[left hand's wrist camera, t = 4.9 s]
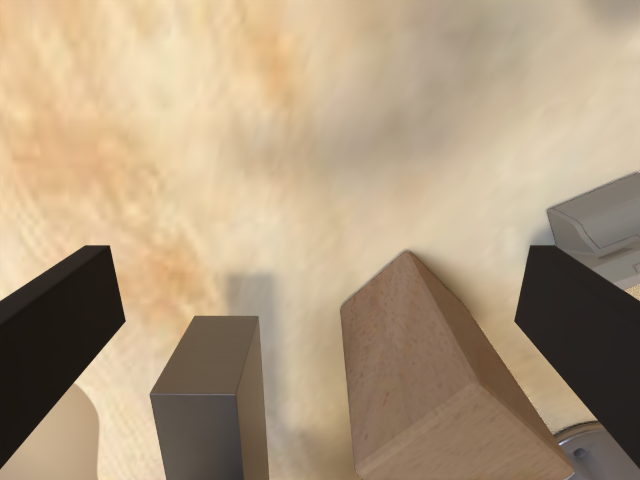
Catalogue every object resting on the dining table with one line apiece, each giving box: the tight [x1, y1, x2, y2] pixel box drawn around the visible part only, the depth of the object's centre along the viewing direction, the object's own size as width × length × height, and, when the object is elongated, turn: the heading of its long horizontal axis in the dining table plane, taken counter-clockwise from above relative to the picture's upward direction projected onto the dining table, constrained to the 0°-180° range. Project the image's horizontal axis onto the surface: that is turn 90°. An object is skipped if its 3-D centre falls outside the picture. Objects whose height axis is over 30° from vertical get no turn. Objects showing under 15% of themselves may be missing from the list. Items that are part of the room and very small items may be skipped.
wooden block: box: [340, 251, 574, 480], centre depth 33 cm, size 10×10×20 cm
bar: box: [150, 316, 269, 480], centre depth 33 cm, size 25×6×9 cm, turn 0°
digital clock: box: [547, 173, 640, 290], centre depth 34 cm, size 16×9×11 cm, turn 104°
